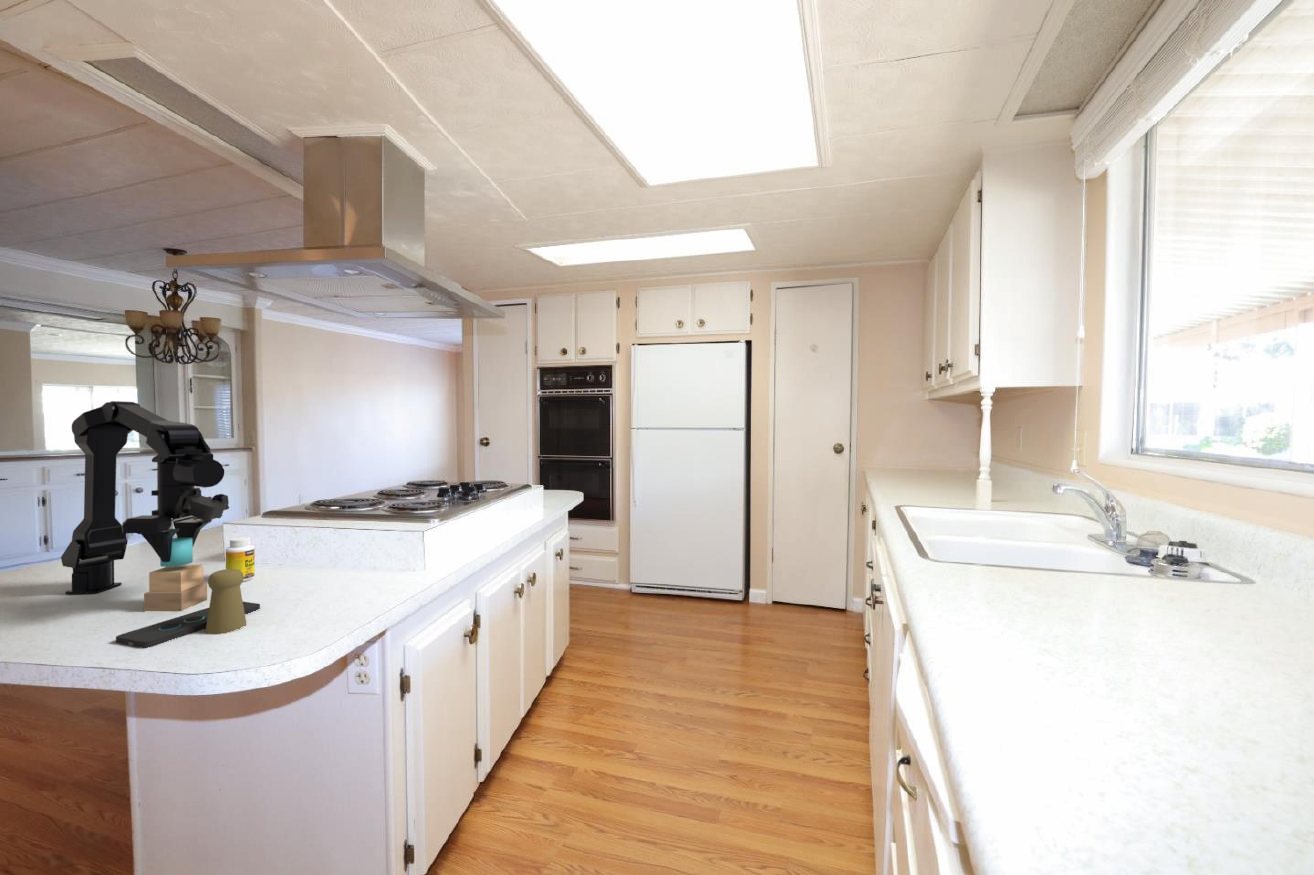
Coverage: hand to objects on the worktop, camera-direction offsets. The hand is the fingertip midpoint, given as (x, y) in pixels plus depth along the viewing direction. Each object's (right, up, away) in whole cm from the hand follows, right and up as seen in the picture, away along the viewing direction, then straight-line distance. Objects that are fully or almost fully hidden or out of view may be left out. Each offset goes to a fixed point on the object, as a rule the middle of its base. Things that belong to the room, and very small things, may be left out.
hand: (176, 558), depth 110 cm
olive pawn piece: (+19, -11, -11) cm, 24 cm away
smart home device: (+12, -11, -9) cm, 19 cm away
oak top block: (-1, -6, +1) cm, 6 cm away
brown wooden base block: (0, -10, 0) cm, 10 cm away
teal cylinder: (0, -1, 0) cm, 1 cm away
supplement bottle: (-1, -10, +18) cm, 21 cm away
